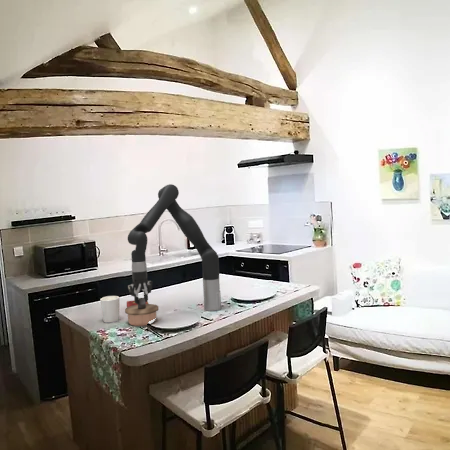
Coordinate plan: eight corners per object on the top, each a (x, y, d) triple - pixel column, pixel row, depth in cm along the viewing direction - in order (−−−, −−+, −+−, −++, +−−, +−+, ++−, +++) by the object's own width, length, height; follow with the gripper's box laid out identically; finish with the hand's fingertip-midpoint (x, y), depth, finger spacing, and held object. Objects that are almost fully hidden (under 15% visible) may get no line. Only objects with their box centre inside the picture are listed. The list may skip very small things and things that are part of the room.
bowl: (159, 317, 237) (158, 306, 236) (152, 325, 223) (151, 314, 222) (133, 318, 238) (132, 307, 237) (125, 326, 224) (124, 314, 224)
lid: (161, 305, 238) (161, 294, 237) (154, 314, 221) (153, 302, 220) (130, 306, 239) (130, 295, 239) (120, 315, 222) (120, 303, 222)
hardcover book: (128, 317, 242) (127, 309, 241) (126, 307, 262) (126, 300, 261) (150, 314, 245) (150, 307, 244) (147, 305, 265) (146, 298, 264)
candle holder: (122, 317, 241) (121, 295, 240) (118, 322, 231) (117, 300, 230) (104, 318, 241) (102, 296, 240) (99, 323, 231) (98, 301, 230)
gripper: (147, 267, 236) (149, 298, 237) (123, 271, 226) (125, 304, 228) (155, 268, 230) (157, 301, 231) (130, 273, 221) (132, 306, 222)
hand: (141, 302), depth 230 cm, fingers open, 4 cm apart
